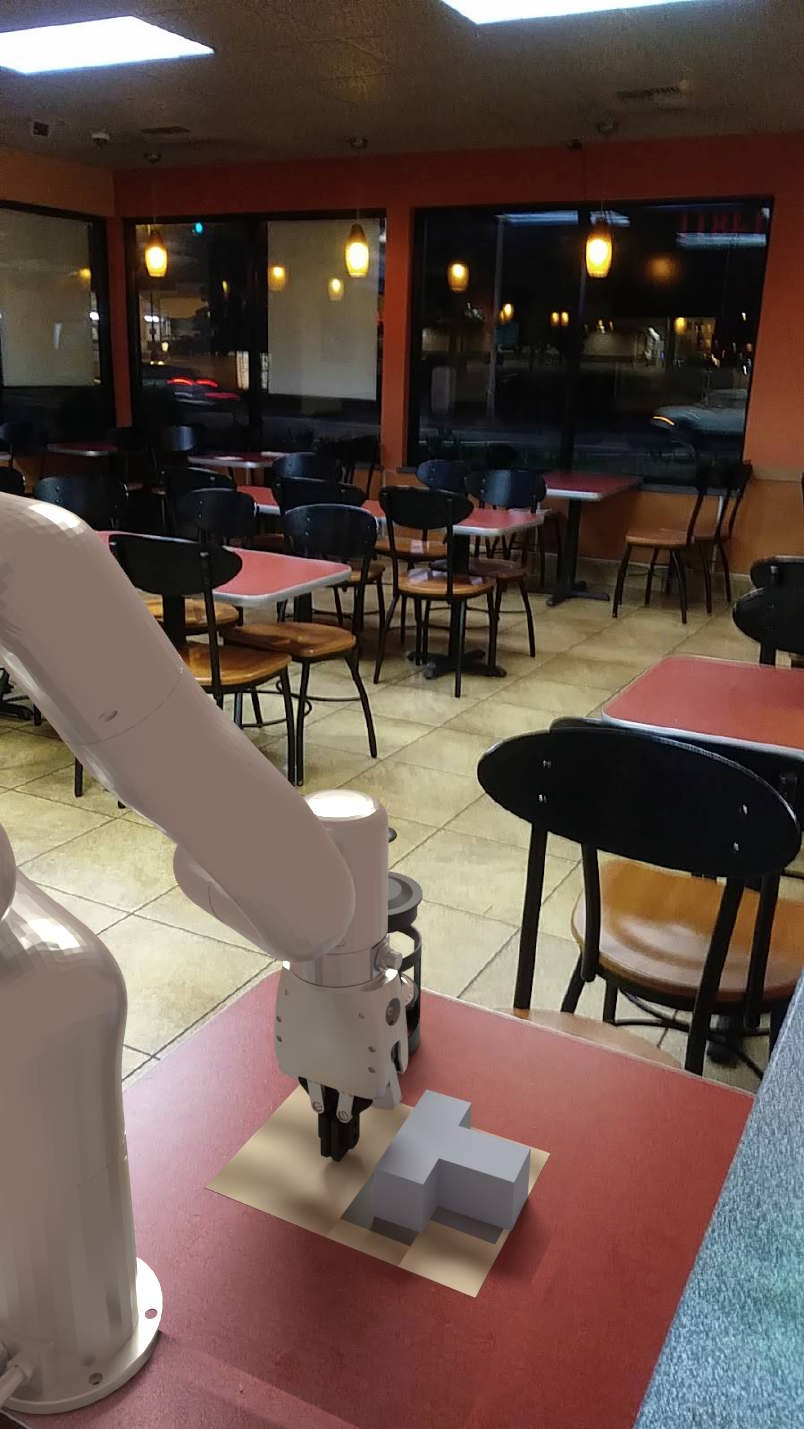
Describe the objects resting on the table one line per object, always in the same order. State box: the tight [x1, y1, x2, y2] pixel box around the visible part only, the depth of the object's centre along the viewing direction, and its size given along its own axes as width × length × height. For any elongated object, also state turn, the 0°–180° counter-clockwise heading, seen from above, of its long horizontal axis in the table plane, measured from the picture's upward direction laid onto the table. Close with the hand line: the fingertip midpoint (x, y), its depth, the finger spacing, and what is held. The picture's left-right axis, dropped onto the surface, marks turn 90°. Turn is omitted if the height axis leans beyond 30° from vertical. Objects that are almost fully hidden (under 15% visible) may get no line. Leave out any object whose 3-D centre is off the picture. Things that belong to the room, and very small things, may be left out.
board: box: [204, 1083, 551, 1299], centre depth 86 cm, size 16×23×1 cm
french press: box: [387, 826, 423, 1058], centre depth 99 cm, size 12×9×23 cm
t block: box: [374, 1089, 531, 1233], centre depth 83 cm, size 10×10×4 cm
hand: (339, 1148), depth 87 cm, fingers closed
